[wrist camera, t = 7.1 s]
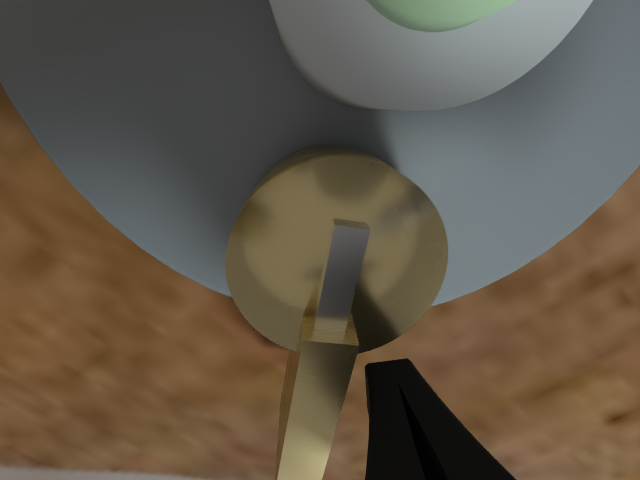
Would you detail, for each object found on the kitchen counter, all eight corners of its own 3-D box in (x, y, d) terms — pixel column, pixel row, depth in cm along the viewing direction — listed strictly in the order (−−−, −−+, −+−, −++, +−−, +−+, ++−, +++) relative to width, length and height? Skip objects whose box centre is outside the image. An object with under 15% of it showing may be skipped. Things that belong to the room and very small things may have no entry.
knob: (250, 129, 7) (220, 143, 5) (436, 161, 8) (506, 189, 5) (230, 396, 11) (206, 494, 8) (360, 405, 11) (378, 499, 9)
